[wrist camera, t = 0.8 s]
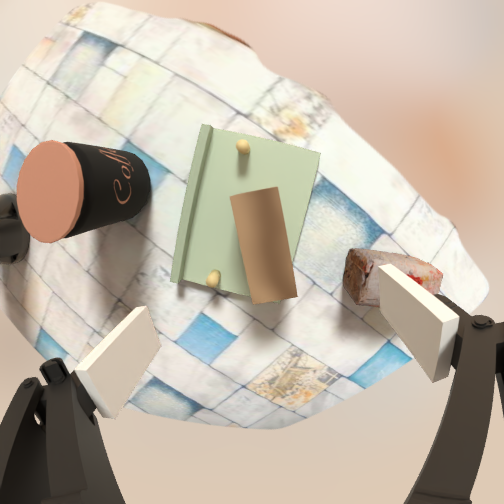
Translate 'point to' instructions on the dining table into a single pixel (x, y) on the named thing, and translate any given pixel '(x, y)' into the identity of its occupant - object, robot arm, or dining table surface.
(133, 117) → the dining table surface
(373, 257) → the food item
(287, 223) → the ledge board
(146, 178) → the coffee jar
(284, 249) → the brown box-like piece
